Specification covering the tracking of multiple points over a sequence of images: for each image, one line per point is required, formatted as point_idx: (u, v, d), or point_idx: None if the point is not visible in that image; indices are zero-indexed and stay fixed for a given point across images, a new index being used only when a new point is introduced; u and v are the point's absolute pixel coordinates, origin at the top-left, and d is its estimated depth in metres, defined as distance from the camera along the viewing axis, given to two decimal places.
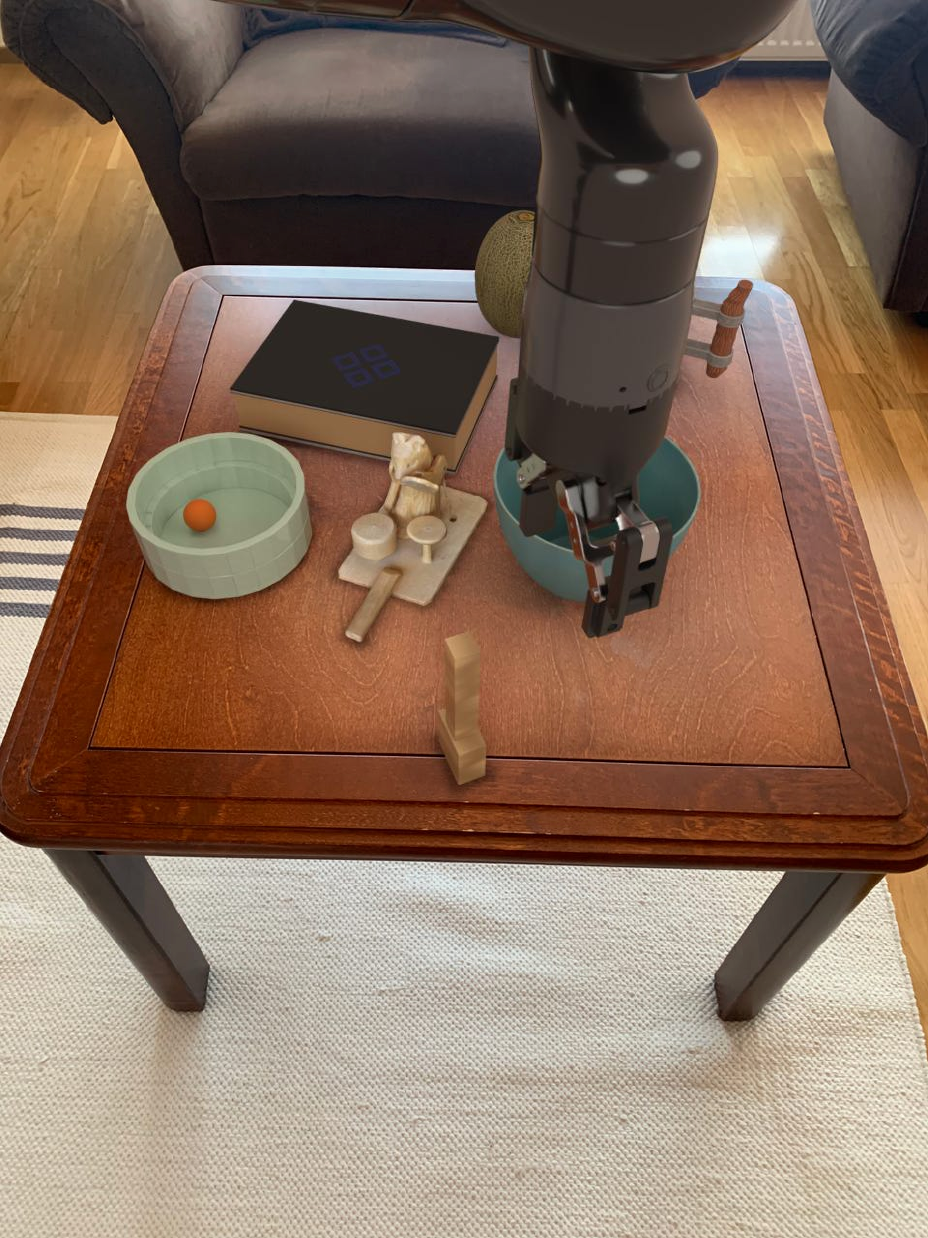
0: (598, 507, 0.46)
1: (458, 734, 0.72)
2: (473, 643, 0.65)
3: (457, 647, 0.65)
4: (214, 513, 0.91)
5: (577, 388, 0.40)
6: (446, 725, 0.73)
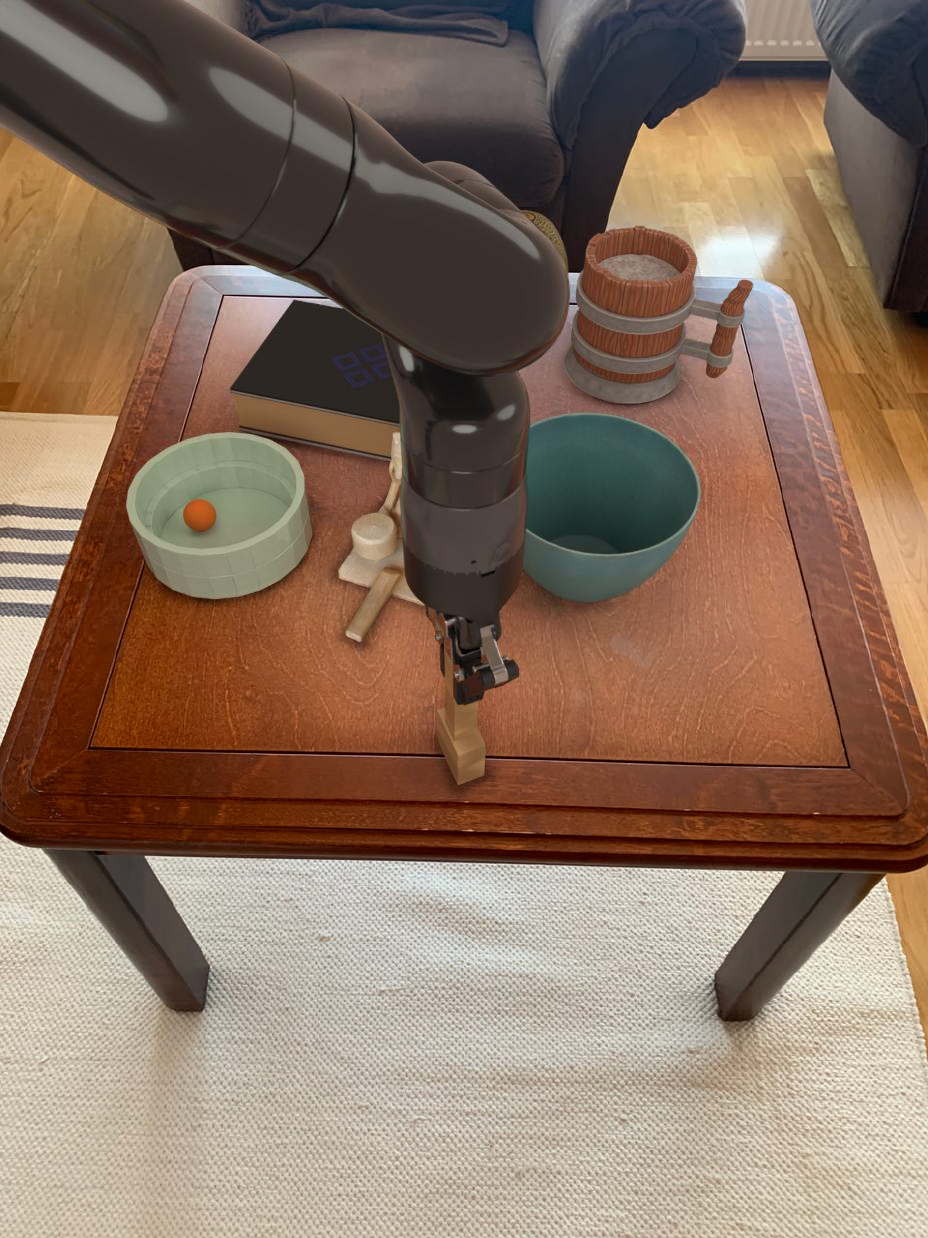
0: (468, 638, 0.58)
1: (457, 734, 0.72)
2: None
3: None
4: (214, 513, 0.91)
5: (439, 560, 0.53)
6: (445, 725, 0.73)
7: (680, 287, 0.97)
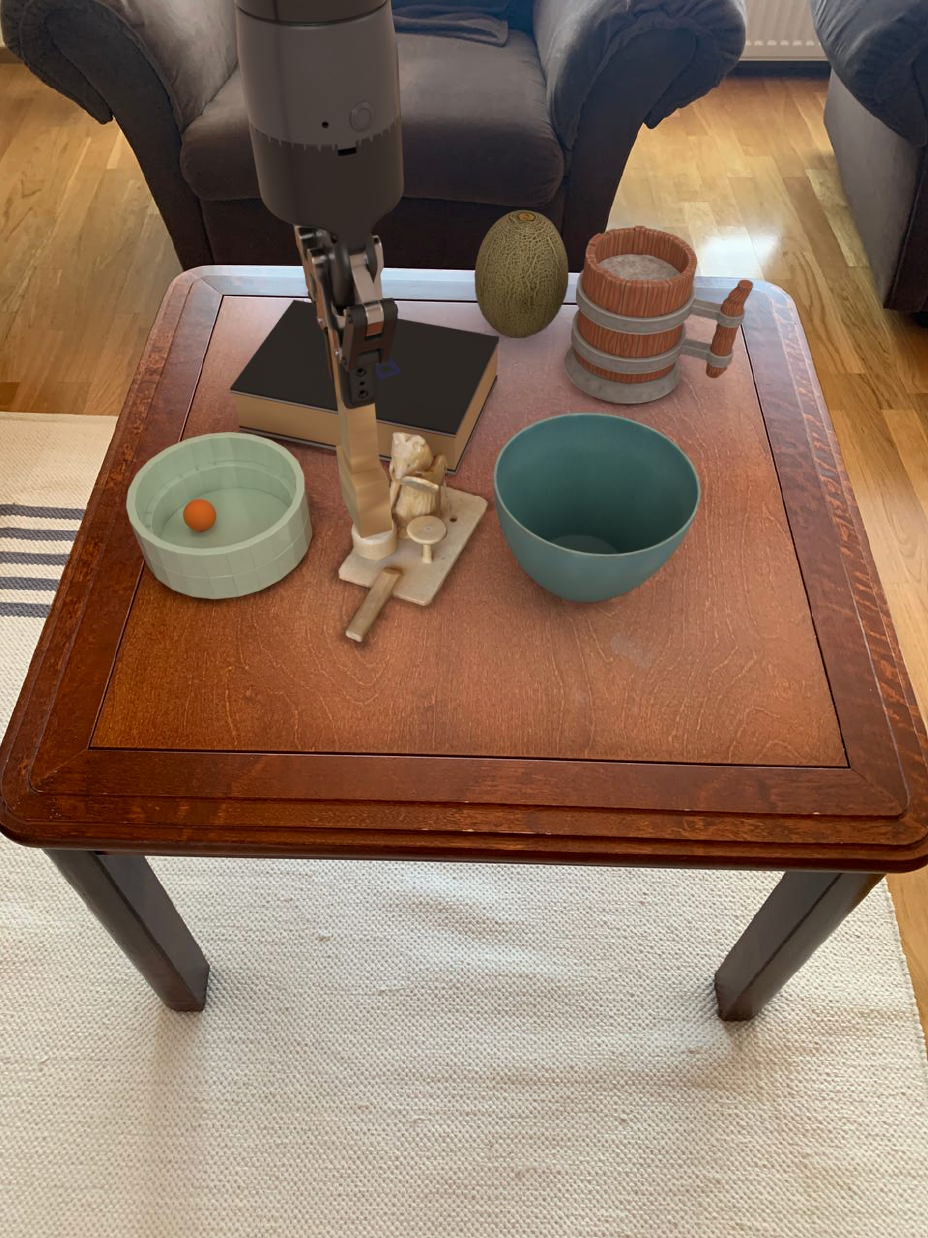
0: (336, 268, 0.48)
1: (355, 464, 0.62)
2: None
3: None
4: (214, 513, 0.91)
5: (284, 124, 0.42)
6: (344, 460, 0.63)
7: (680, 287, 0.97)
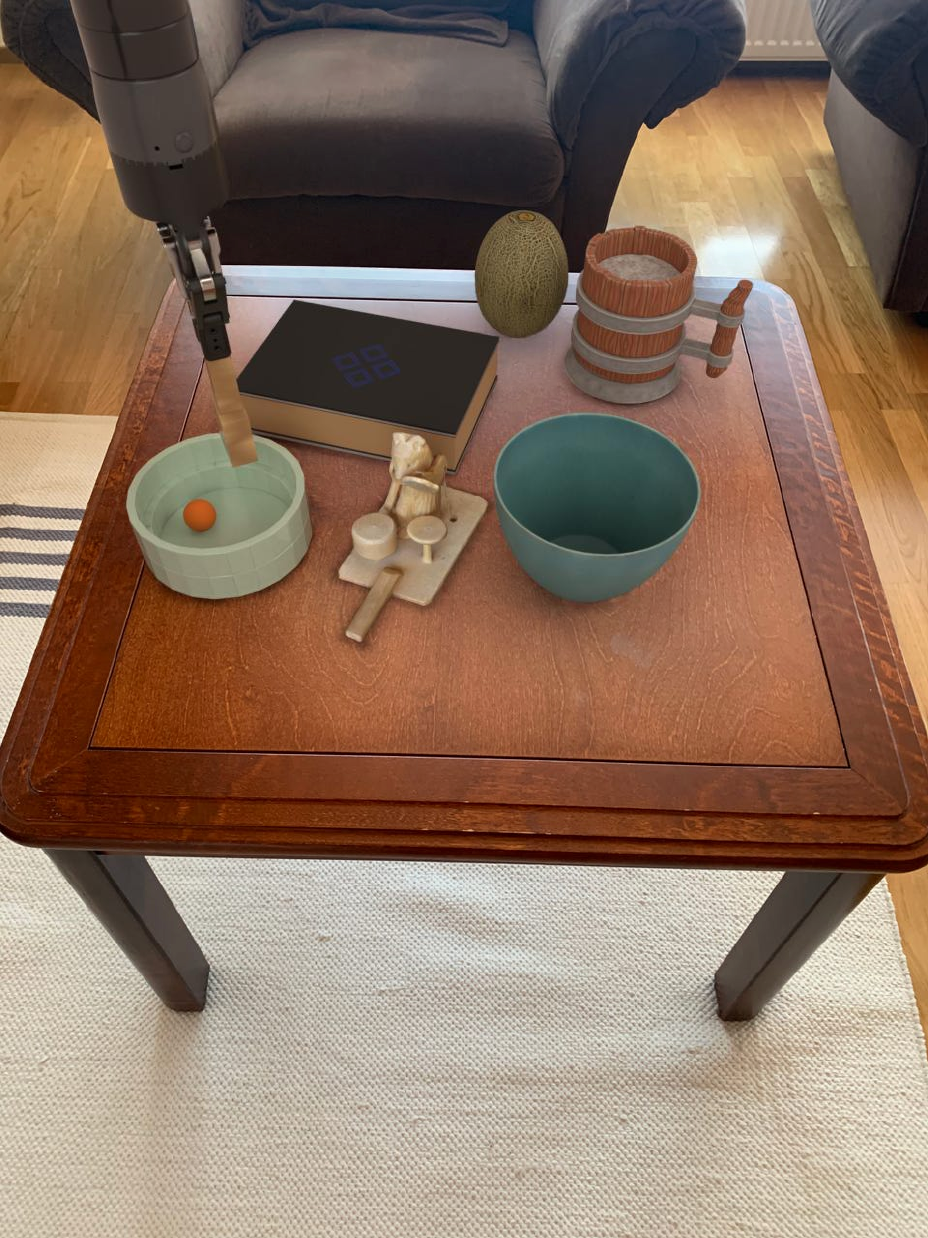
0: (179, 251, 0.65)
1: (221, 406, 0.79)
2: None
3: None
4: (214, 513, 0.91)
5: (128, 148, 0.60)
6: (215, 404, 0.81)
7: (680, 287, 0.97)
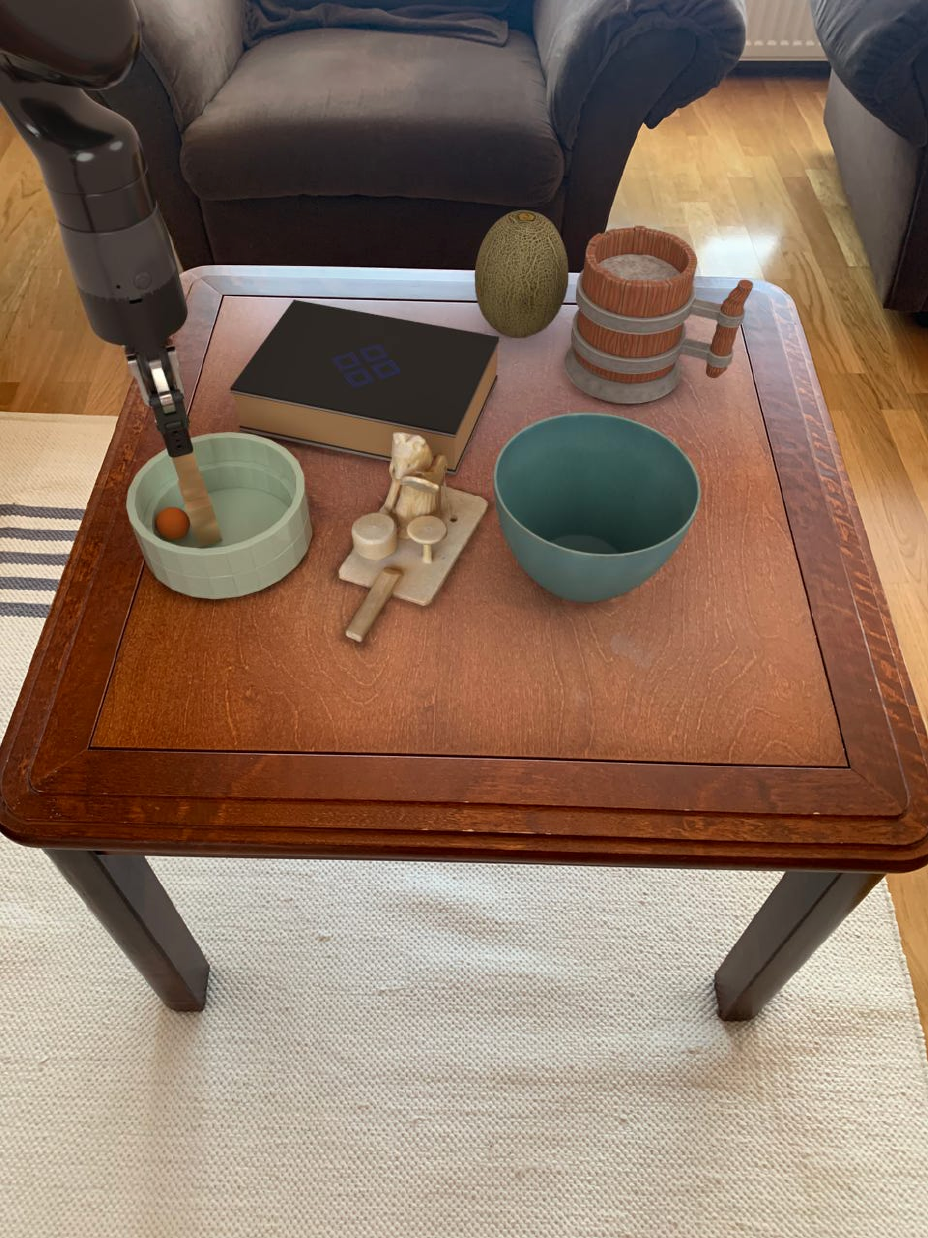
0: (141, 370, 0.72)
1: (187, 494, 0.86)
2: None
3: None
4: (165, 520, 0.89)
5: (92, 286, 0.67)
6: (181, 491, 0.87)
7: (680, 287, 0.97)
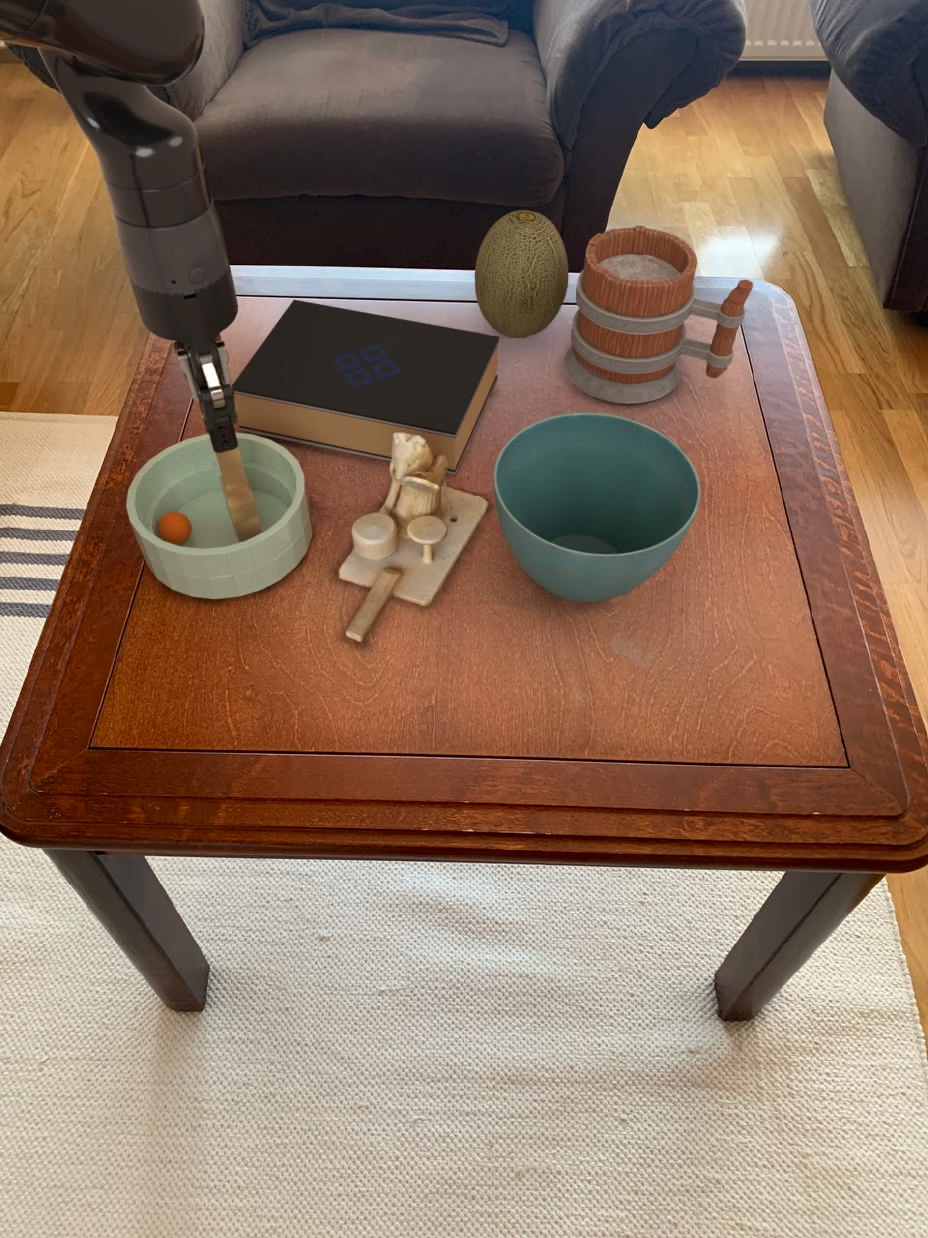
0: (192, 365, 0.72)
1: (229, 489, 0.86)
2: None
3: None
4: (165, 523, 0.89)
5: (147, 281, 0.67)
6: (223, 486, 0.88)
7: (680, 287, 0.97)
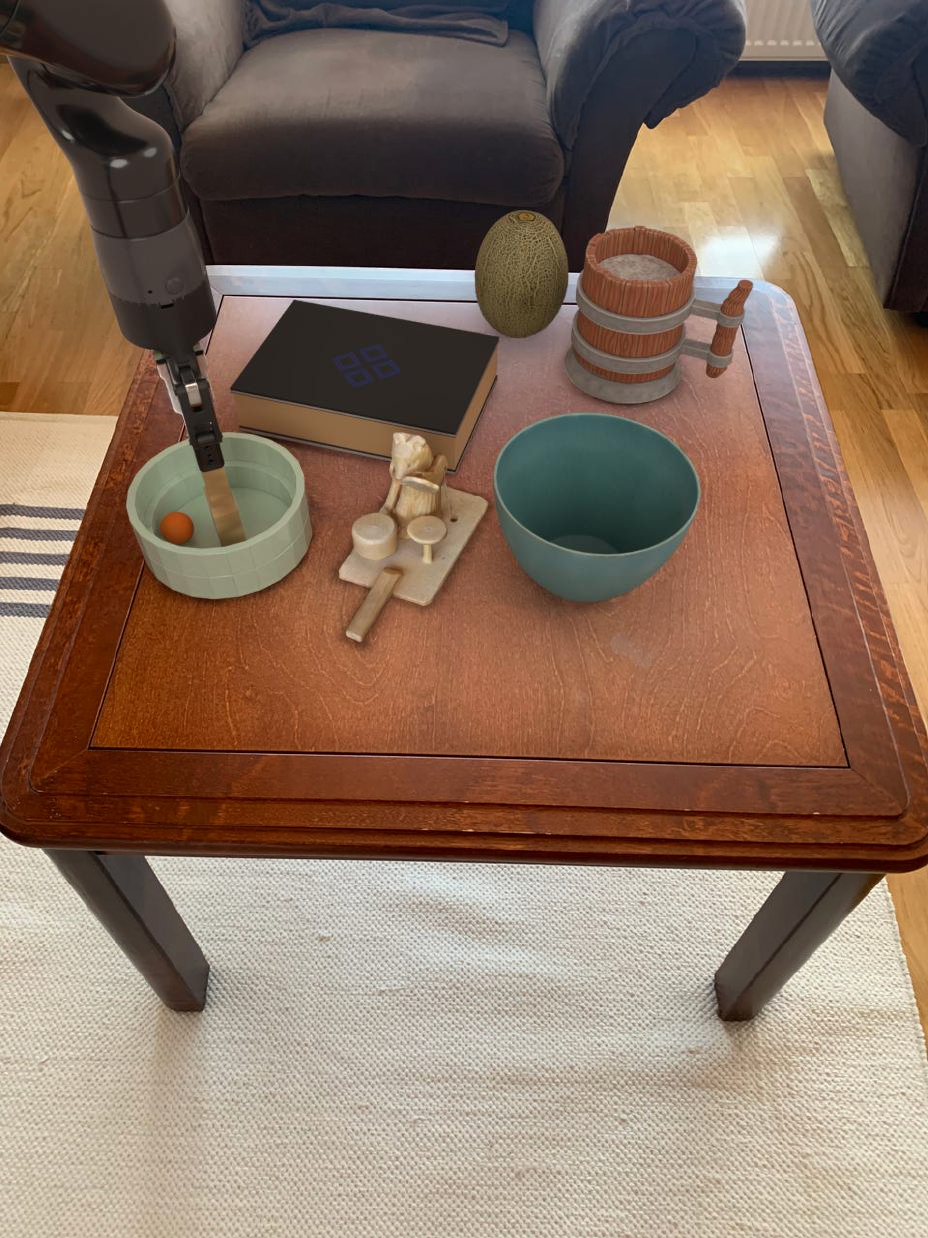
0: (171, 374, 0.72)
1: (213, 500, 0.87)
2: None
3: None
4: (169, 523, 0.89)
5: (124, 291, 0.67)
6: (207, 497, 0.88)
7: (680, 287, 0.97)
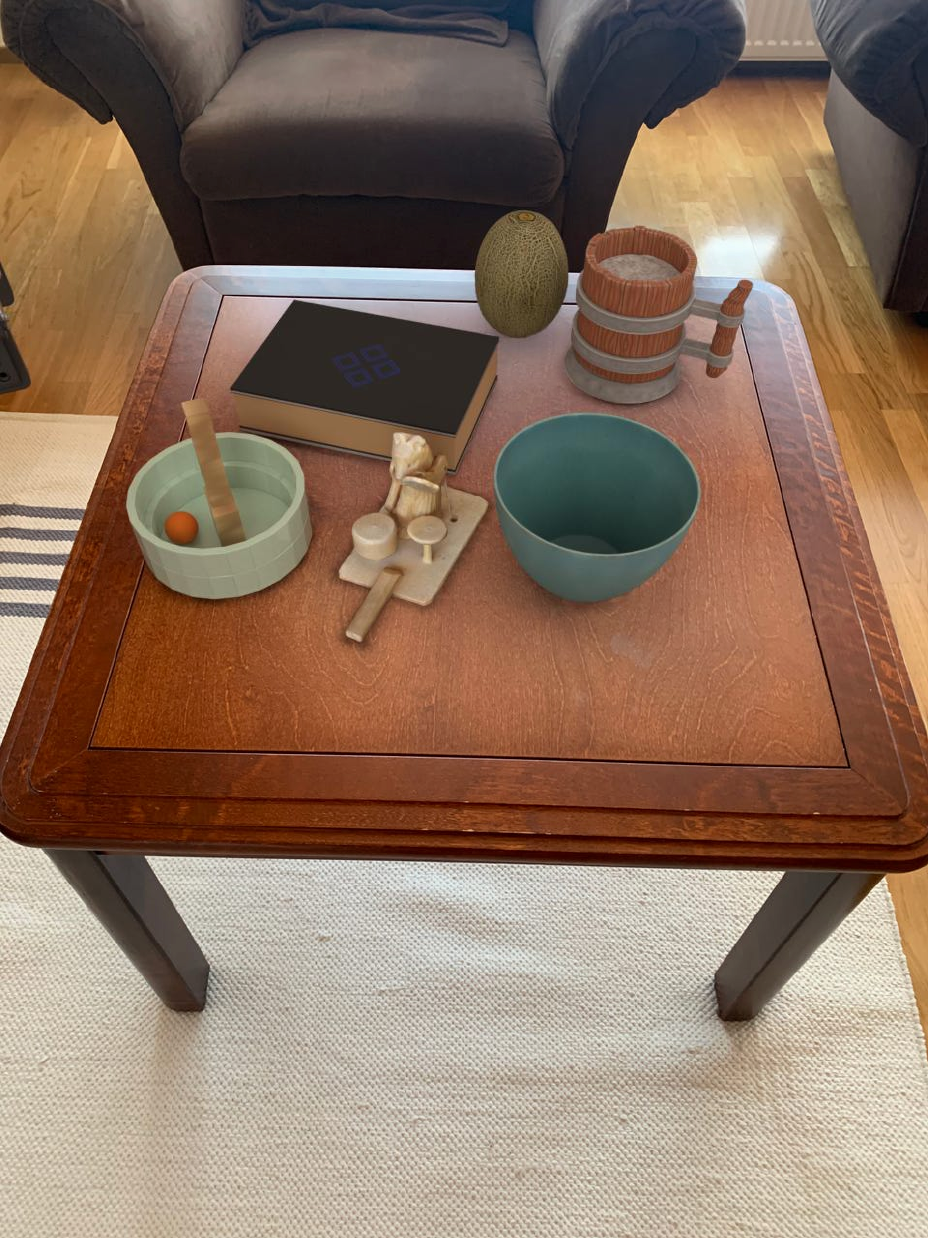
0: None
1: (213, 500, 0.87)
2: (203, 405, 0.80)
3: (189, 408, 0.79)
4: (178, 521, 0.89)
5: None
6: (207, 497, 0.88)
7: (680, 287, 0.97)
